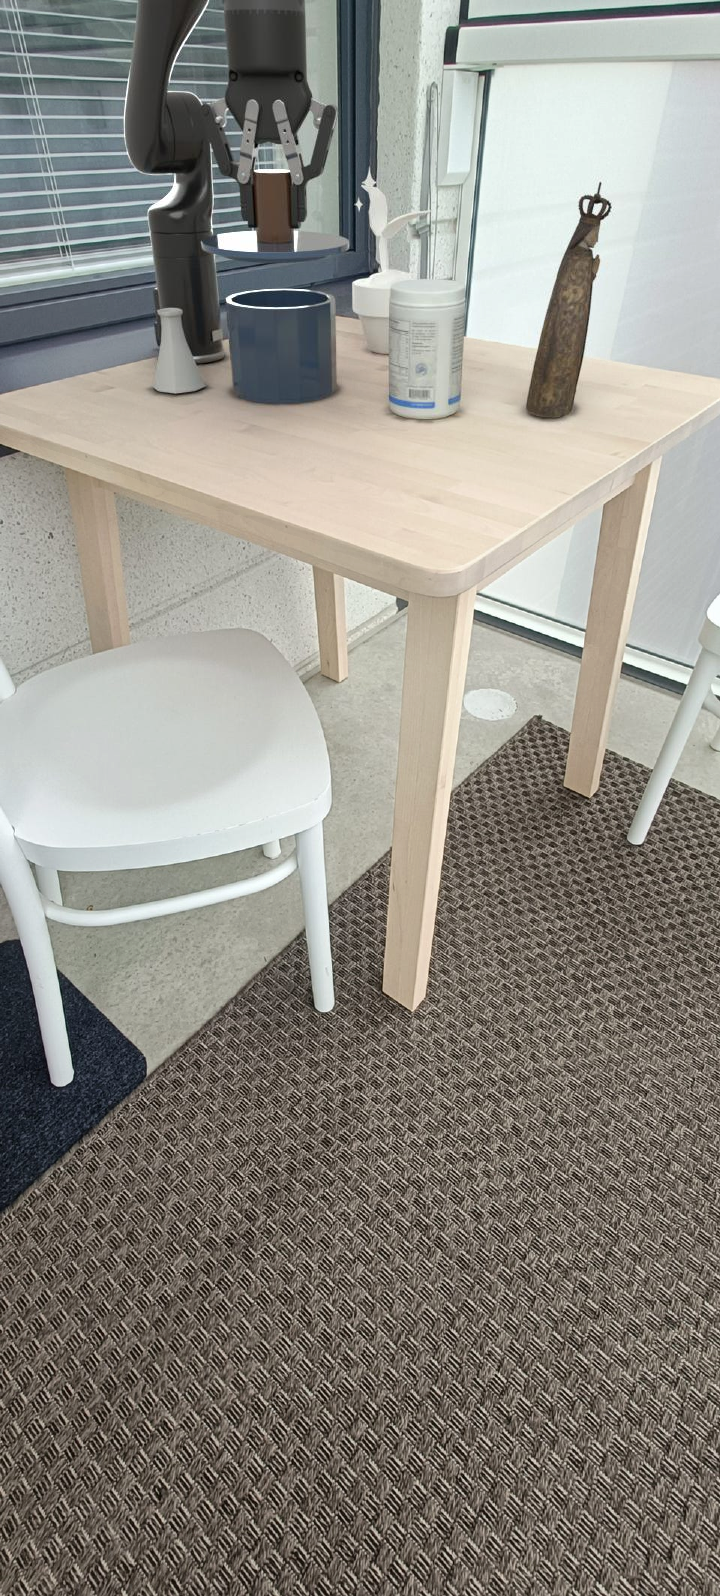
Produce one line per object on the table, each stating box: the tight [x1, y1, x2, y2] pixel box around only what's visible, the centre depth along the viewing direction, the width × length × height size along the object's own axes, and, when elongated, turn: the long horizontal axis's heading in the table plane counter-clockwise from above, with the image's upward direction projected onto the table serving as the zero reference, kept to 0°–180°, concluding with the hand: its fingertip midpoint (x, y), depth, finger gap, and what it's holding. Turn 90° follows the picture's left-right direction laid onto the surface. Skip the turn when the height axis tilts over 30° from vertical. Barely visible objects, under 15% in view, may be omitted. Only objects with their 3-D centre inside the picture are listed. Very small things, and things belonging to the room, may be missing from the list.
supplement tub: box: [388, 278, 467, 420], centre depth 112 cm, size 10×10×15 cm
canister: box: [224, 288, 338, 405], centre depth 121 cm, size 15×15×12 cm
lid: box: [201, 168, 350, 264], centre depth 91 cm, size 16×16×7 cm
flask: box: [151, 308, 207, 394], centre depth 122 cm, size 7×7×10 cm
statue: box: [525, 181, 612, 419], centre depth 109 cm, size 9×8×25 cm
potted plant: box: [351, 166, 432, 355], centre depth 136 cm, size 13×12×25 cm
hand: (274, 226), depth 92 cm, fingers closed on lid, 4 cm apart
